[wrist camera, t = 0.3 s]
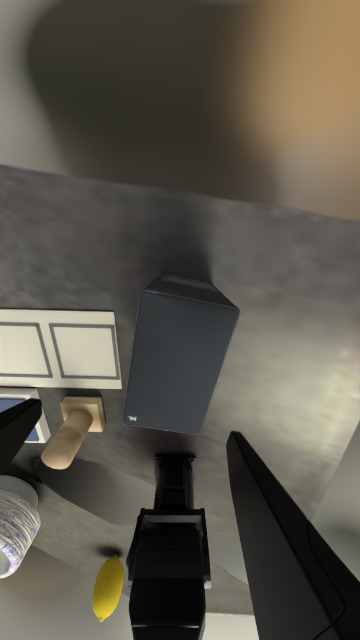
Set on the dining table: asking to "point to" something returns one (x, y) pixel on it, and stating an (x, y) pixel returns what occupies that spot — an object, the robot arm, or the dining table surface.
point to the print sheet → (59, 349)
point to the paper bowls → (16, 522)
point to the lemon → (108, 587)
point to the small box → (177, 353)
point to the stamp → (74, 428)
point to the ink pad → (13, 396)
